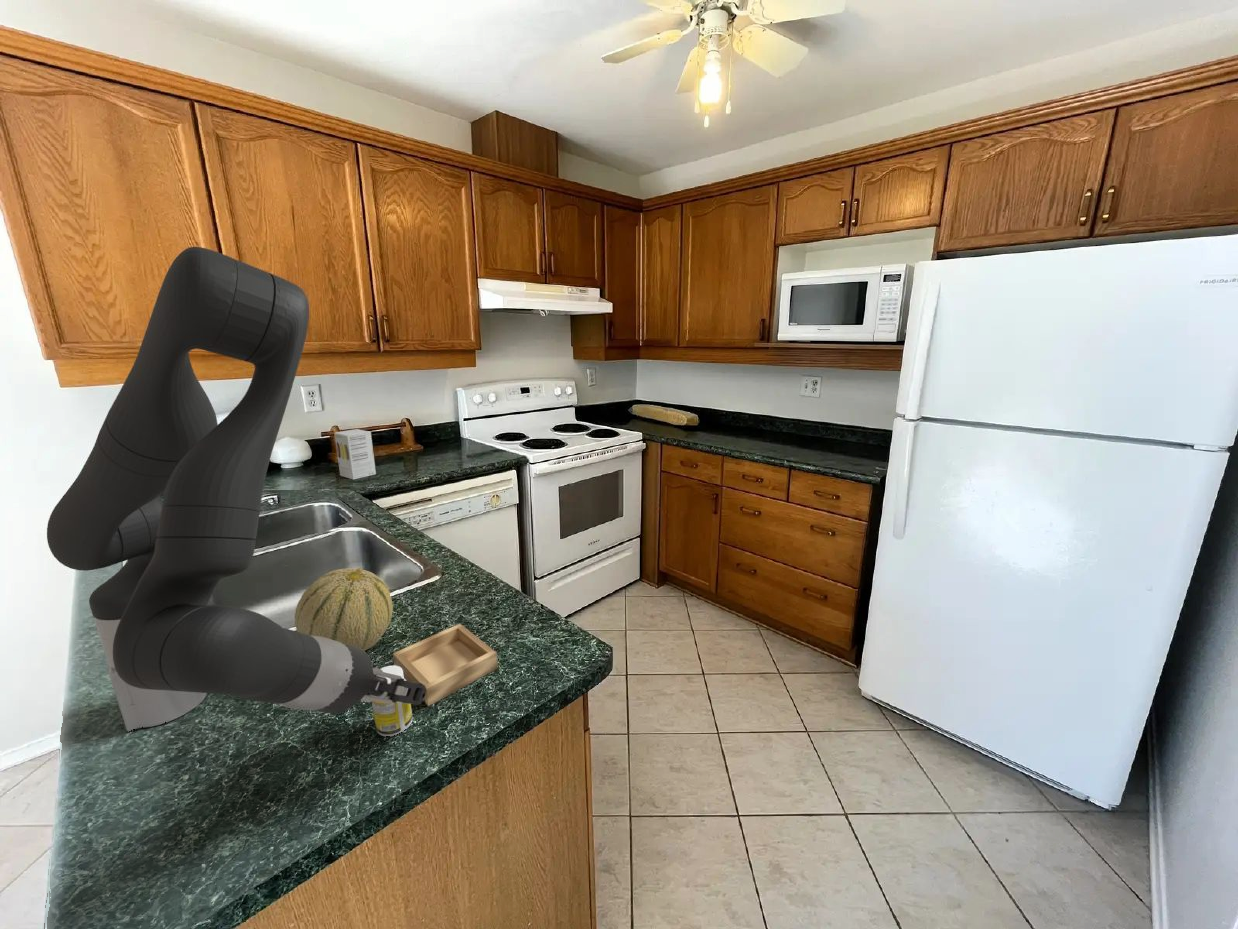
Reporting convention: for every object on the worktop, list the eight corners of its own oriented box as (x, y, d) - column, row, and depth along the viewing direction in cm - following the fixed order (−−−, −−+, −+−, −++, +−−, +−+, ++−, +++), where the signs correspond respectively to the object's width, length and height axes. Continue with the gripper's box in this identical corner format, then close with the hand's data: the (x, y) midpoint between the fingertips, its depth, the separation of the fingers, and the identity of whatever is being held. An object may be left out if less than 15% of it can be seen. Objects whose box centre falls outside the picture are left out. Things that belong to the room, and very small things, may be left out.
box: (428, 706, 75) (426, 689, 74) (395, 669, 83) (392, 653, 82) (497, 668, 83) (496, 652, 82) (461, 638, 91) (459, 623, 90)
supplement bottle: (402, 707, 74) (395, 658, 72) (419, 723, 72) (412, 672, 69) (370, 726, 71) (362, 676, 69) (386, 743, 68) (378, 691, 66)
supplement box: (339, 475, 190) (332, 432, 185) (362, 470, 197) (357, 428, 193) (353, 480, 185) (347, 435, 180) (377, 474, 192) (371, 431, 188)
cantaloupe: (296, 645, 89) (281, 568, 85) (383, 615, 98) (373, 545, 94) (311, 689, 78) (295, 604, 74) (408, 652, 87) (398, 574, 83)
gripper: (386, 649, 58) (451, 671, 71) (285, 631, 61) (366, 655, 75) (358, 722, 54) (433, 729, 68) (253, 698, 57) (344, 710, 71)
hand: (398, 690), depth 71 cm, fingers open, 7 cm apart
